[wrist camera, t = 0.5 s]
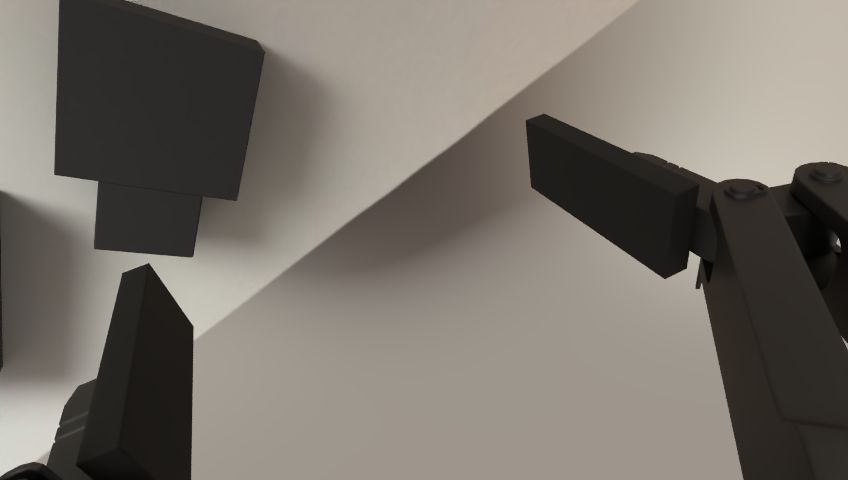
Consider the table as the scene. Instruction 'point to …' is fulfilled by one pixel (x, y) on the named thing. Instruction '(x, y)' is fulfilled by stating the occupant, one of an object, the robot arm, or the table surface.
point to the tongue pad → (151, 118)
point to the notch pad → (0, 318)
